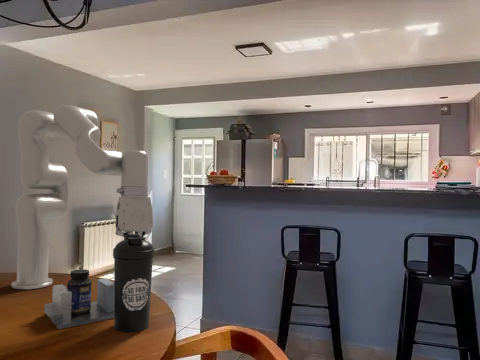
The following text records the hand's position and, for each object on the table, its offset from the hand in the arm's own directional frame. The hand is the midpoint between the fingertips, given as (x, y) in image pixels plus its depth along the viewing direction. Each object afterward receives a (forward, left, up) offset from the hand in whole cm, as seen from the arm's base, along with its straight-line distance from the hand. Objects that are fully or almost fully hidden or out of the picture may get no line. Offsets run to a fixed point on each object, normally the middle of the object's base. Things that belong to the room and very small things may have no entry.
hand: (133, 254), depth 113 cm
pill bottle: (-1, -15, -14) cm, 21 cm away
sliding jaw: (0, -7, -14) cm, 16 cm away
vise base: (0, -13, -15) cm, 20 cm away
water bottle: (+15, -6, -16) cm, 22 cm away
